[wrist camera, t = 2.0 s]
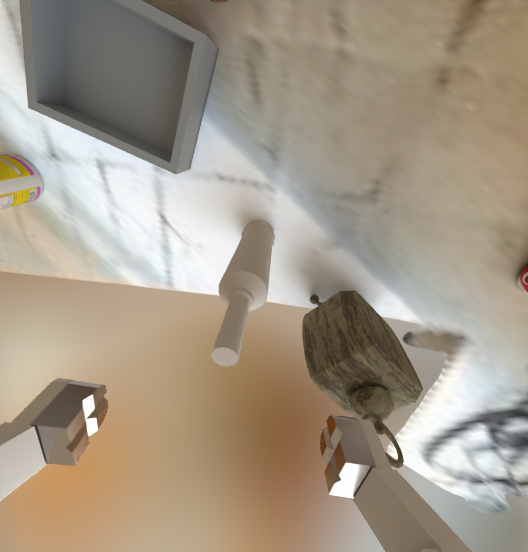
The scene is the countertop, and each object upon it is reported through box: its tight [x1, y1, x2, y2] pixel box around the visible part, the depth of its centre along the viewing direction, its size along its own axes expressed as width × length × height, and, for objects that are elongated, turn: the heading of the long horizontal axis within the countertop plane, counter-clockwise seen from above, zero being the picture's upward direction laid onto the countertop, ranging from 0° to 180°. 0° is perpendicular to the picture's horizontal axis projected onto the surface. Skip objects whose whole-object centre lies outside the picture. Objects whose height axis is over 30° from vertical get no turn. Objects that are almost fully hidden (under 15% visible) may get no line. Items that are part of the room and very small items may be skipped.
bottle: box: [211, 220, 275, 366], centre depth 29 cm, size 5×5×25 cm
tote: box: [20, 0, 219, 174], centre depth 28 cm, size 14×18×5 cm
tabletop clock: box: [302, 291, 423, 468], centre depth 35 cm, size 14×9×25 cm, turn 46°
